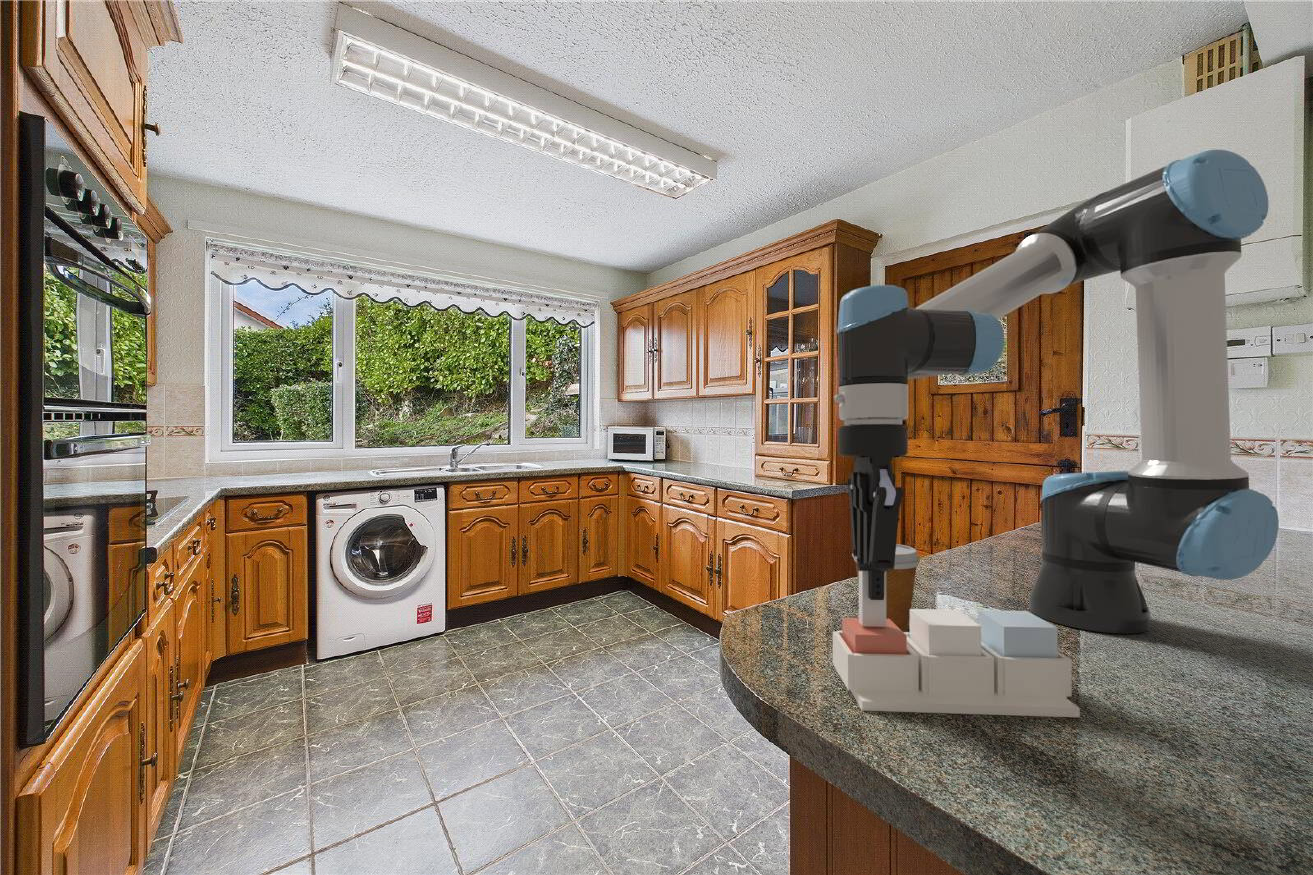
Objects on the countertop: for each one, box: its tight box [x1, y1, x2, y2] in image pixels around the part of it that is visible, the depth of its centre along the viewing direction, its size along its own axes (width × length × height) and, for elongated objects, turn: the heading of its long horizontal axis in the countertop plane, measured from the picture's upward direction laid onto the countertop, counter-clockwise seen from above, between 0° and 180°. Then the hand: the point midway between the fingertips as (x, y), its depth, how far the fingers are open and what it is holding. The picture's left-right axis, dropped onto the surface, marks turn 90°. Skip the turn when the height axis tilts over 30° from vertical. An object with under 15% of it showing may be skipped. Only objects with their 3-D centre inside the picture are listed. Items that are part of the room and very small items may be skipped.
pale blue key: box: [977, 609, 1059, 658], centre depth 63 cm, size 6×6×4 cm
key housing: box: [832, 630, 1081, 718], centre depth 64 cm, size 24×12×5 cm, turn 86°
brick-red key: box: [841, 617, 907, 655], centre depth 64 cm, size 6×6×4 cm
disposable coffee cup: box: [851, 543, 921, 632], centre depth 84 cm, size 10×10×12 cm
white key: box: [909, 608, 981, 656], centre depth 64 cm, size 6×6×4 cm
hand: (872, 624), depth 64 cm, fingers closed
